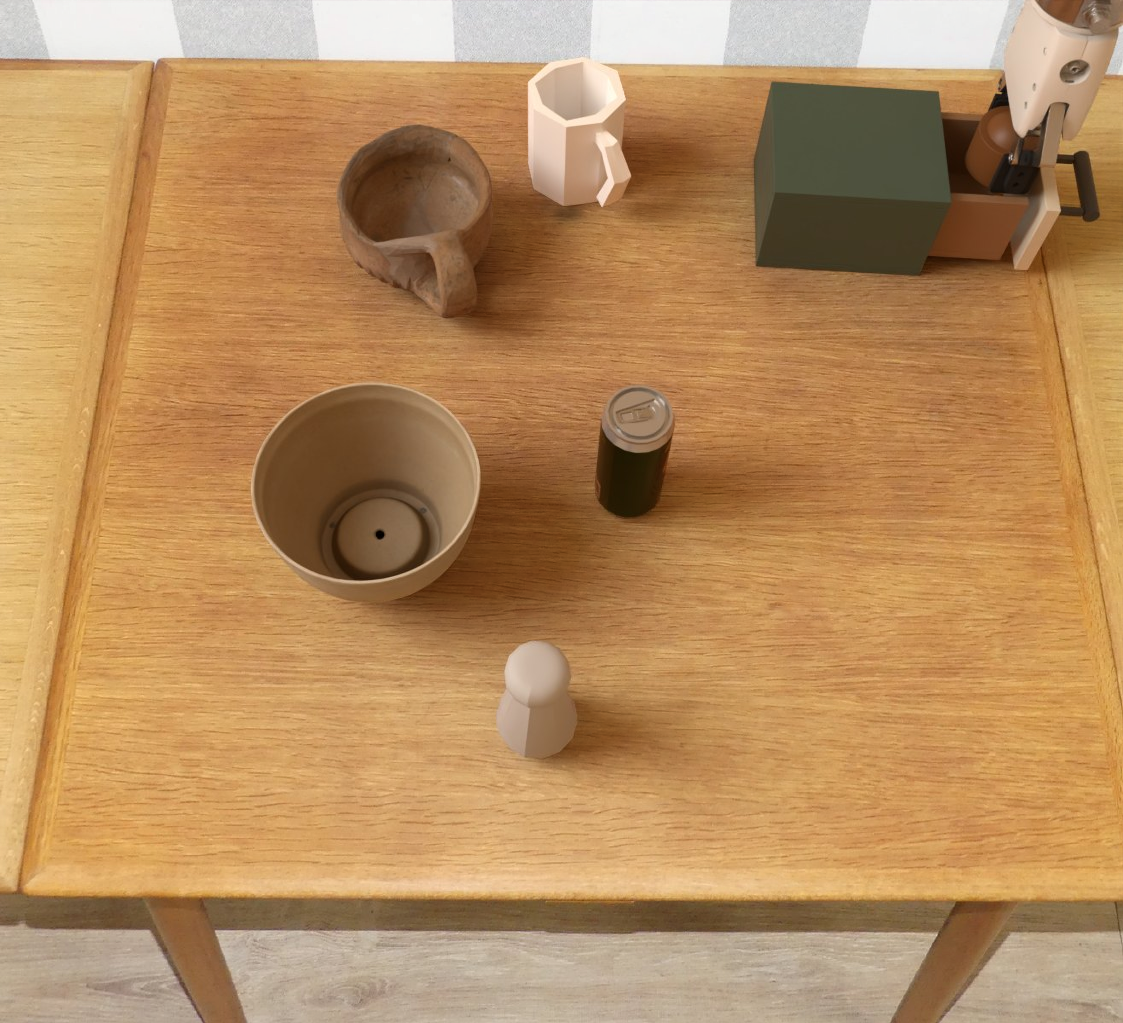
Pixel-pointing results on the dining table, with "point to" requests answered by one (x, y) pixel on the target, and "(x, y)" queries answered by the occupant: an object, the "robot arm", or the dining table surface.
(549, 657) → the salt shaker
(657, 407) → the beer can
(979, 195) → the drawer
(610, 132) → the mug
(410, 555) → the planter bowl
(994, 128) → the brown dome knob
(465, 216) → the brown clay cup
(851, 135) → the cabinet
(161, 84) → the dining table surface
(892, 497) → the dining table surface
